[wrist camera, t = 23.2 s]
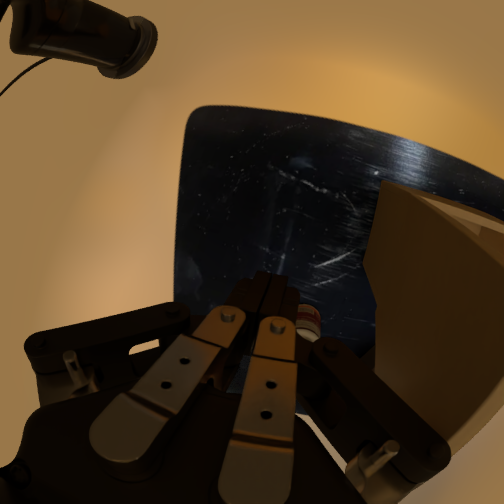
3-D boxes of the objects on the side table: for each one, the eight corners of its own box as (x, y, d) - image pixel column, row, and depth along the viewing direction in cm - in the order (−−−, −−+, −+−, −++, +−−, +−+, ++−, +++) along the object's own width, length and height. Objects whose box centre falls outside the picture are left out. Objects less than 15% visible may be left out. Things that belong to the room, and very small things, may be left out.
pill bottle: (301, 336, 38) (296, 377, 30) (279, 315, 37) (269, 354, 29) (327, 319, 36) (328, 360, 28) (305, 296, 35) (301, 335, 28)
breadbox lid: (563, 313, 2) (544, 307, 2) (370, 510, 6) (352, 509, 6) (419, 196, 17) (410, 193, 18) (383, 314, 21) (375, 311, 22)
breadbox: (485, 212, 25) (532, 237, 15) (462, 284, 29) (497, 326, 19) (381, 179, 28) (412, 193, 18) (362, 263, 32) (378, 310, 22)
